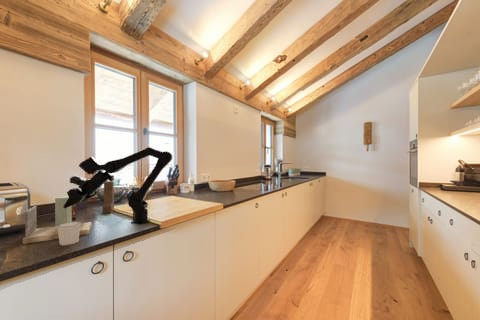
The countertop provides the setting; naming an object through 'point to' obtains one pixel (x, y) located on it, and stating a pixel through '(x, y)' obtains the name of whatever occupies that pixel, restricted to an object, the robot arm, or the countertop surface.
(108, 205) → the wooden block
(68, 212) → the sage block
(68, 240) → the white cup
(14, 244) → the countertop surface
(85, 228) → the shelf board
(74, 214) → the tin
